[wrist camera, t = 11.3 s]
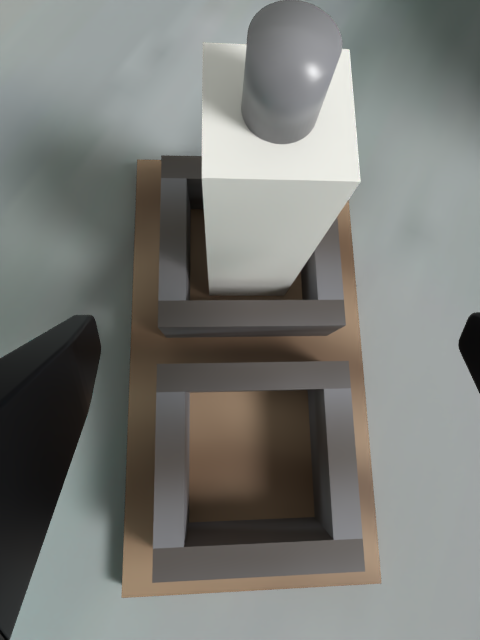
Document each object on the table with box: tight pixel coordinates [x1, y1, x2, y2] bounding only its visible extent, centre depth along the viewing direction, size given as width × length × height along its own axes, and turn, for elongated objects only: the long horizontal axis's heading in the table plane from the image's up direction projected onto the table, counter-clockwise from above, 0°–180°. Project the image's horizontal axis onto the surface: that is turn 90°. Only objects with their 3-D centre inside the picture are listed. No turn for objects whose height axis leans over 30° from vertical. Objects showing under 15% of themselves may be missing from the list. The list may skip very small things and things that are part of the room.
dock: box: [122, 156, 381, 598], centre depth 19 cm, size 22×12×4 cm, turn 1°
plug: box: [202, 0, 361, 296], centre depth 14 cm, size 4×4×13 cm
